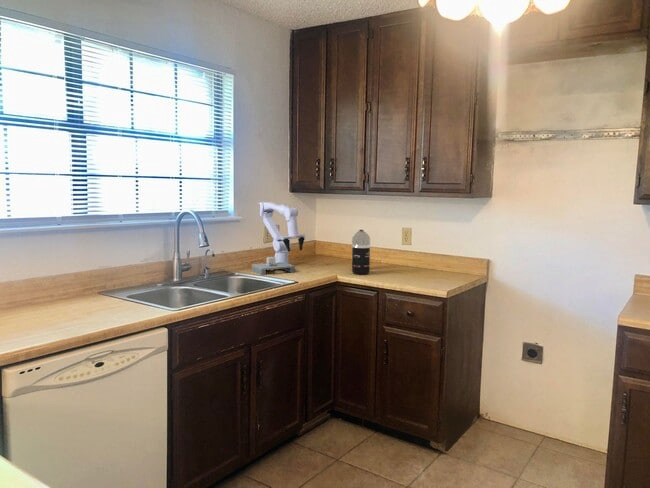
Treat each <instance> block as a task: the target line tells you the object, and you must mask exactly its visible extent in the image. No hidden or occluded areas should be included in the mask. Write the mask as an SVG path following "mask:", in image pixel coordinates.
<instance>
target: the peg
mask: <svg viewBox="0 0 650 488" xmlns="http://www.w3.org/2000/svg"><path fill="white" fill-rule="evenodd" d="M265 262H266V264H268V265H271V267H273V265H275V256H267V257H266V261H265ZM267 271H275V269H267Z"/></svg>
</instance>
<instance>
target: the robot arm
mask: <svg viewBox="0 0 650 488" xmlns="http://www.w3.org/2000/svg"><path fill="white" fill-rule="evenodd" d="M259 202H260V203H259ZM259 202H258V203H259V204H260V218H261V217H262V218H263V221H262V222H264V223H263V224H264V226H265V227H266V230H268V232H269V234H270V236H271V238H272V246H273V250H274V251H275V253H274V257H275V263H278V262H285V263H288V264H289V253H290V252H291V249H292V243H291V241H290V240H295V239H297V241H298V245H299V246H298V248H299V249H298V250H299V251H303V245H304V242H305V240H306V239H305V238H306V234H299V230H298V219H297V217H298V214H299V211H298V209H297V208H296V207H291V206H289V205H286V204H284V203H282V204H280V205H279V204H277V203H275V202H274V201H264V202H262V201H259ZM274 211H277V212H278V214H280V215H282V216H284V217H285V221H286V223H287V233H288V235H285V236H283V235H282V234H281V232H280V230H279V229H278V227H277V226H276V224H275V223H274V220H273V219H272V217H273V214H274ZM264 212H267V213H264Z"/></svg>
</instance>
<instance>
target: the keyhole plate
mask: <svg viewBox="0 0 650 488" xmlns="http://www.w3.org/2000/svg"><path fill="white" fill-rule="evenodd" d="M268 269H274V270H277V269H280V270H283V271H286V272H288V273H296V272H295V269H296V268H295V265H294V264H290V263H289V262H288V263H285V262H278V263H275V265H272V267H271V265H268V264H266V263H255V264H254V263H253V264H251V271H252V272H254V273H256V274H258V275H261V276H265V275H267V274H266V272H267V271H268ZM266 270H267V271H266Z"/></svg>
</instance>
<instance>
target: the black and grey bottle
mask: <svg viewBox="0 0 650 488" xmlns="http://www.w3.org/2000/svg"><path fill="white" fill-rule="evenodd" d="M351 249H352V251H351V253H352V254H351V255H352V256H351V258H352V259H351V272H352V274H353V275H360V276H365V275H369V274H370V272H371V270H370V265H371V261H370V260H371V259H370V258H371V238H370V235H369V233H367V232H366V231H365V230H364V229H359V230H358V231H356V233H354V234H353V236H352V239H351Z"/></svg>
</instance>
